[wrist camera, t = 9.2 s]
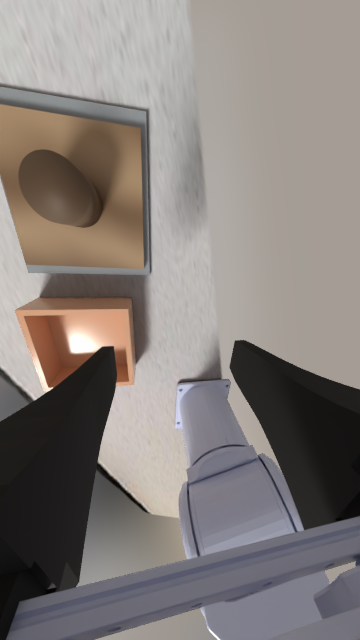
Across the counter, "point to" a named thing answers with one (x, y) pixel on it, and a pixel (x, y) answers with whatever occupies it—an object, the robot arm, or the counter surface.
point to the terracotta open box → (77, 335)
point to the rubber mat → (100, 114)
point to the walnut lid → (73, 188)
